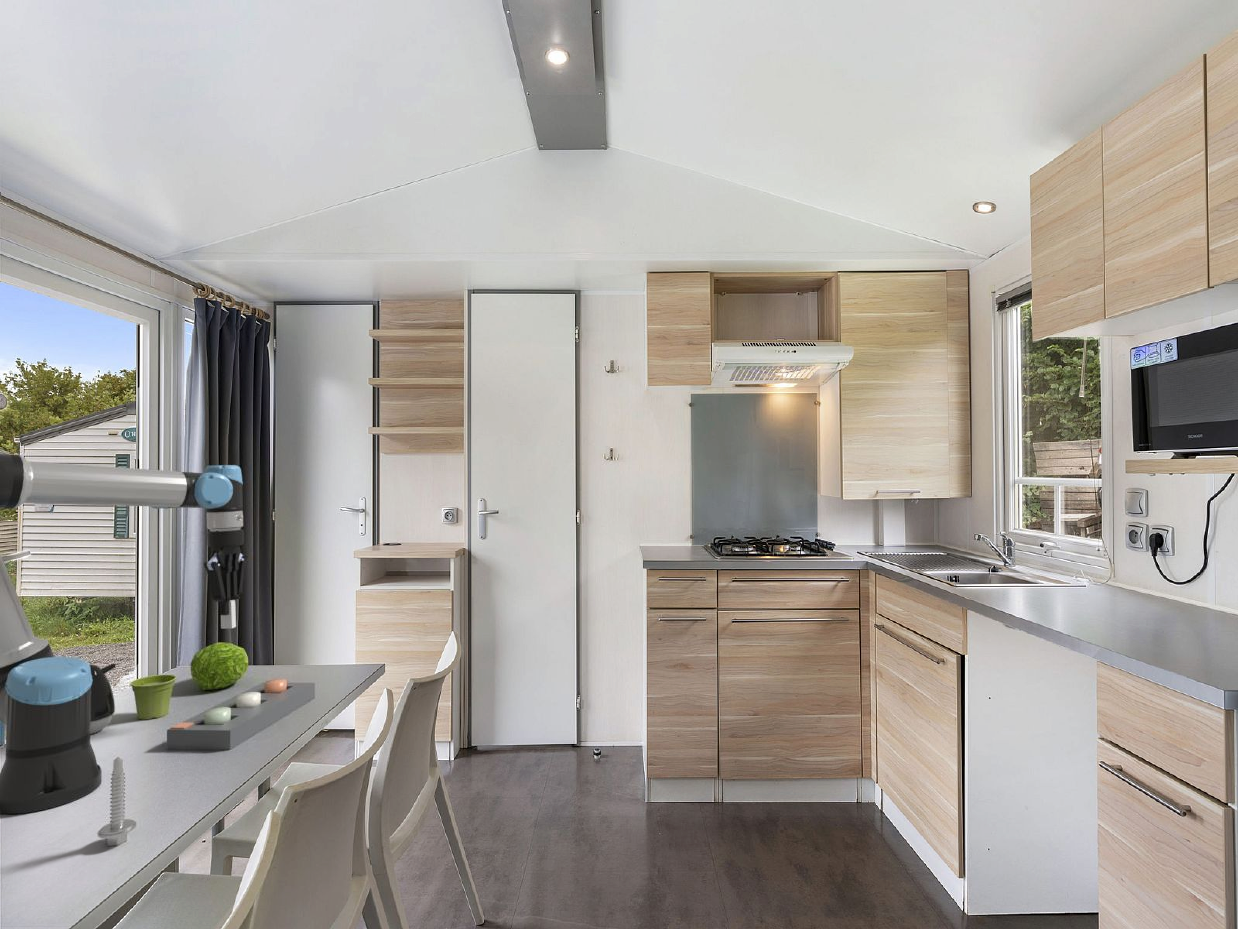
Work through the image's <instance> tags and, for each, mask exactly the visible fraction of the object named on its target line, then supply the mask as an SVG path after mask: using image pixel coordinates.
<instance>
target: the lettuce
mask: <svg viewBox="0 0 1238 929" xmlns="http://www.w3.org/2000/svg"><path fill="white" fill-rule="evenodd" d="M248 669H249V658H248V655H247V652H246V650H245V648H243V647H241V646H239V645H238V646H237V645H235V644H233V643H230V642H216V643H213V644H210V645H208V646H206V647H204V648H202V649H201V650H198V651H197V652H195V654H194V655H193V657H192V659H191V662H190V676H191V677H192V679H193V681H194V683H195V685H197V686H198V687H199V688H200V689H201V690H202V691H209V690H211V691H212V690H218V689H223V688H226V687H228V686H231V685H233V684H234V683H236V682H238V680H240V679H242V678H243V676H244V675H245V673H246V672H247V670H248Z"/></svg>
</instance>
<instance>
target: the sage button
mask: <svg viewBox="0 0 1238 929" xmlns="http://www.w3.org/2000/svg"><path fill="white" fill-rule="evenodd" d="M209 709H210V708H209ZM207 710H208V709H207ZM205 711H206V710H205ZM230 720H231V708H229V707H220V708H214V709H210V710H208V711H206V712H205V713H204V725H223V724H225V723H227V722H228V721H230Z"/></svg>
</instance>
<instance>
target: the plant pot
mask: <svg viewBox="0 0 1238 929" xmlns="http://www.w3.org/2000/svg"><path fill="white" fill-rule="evenodd" d="M177 678H178V676H177V675H175V674H166V673H165V674H156V675H148V676H144V677H143V676H142V677H140V678H137V679H134V680H132V681H131V682H130V683H129V685H130V687H131V689H132V692H133V695H134V700H135V708H136V714H137V718H138V719H139V720H145V719H148V720H151V719H153V718H155V719H156V718H157V719H158V718H159V719H160V718H162V717H165V716H166V715H168V714H169V709H170V703H171V699H172V698H171V697H172V692H173V688H174V685H175V682H176V680H177Z"/></svg>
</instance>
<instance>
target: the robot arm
mask: <svg viewBox="0 0 1238 929" xmlns="http://www.w3.org/2000/svg"><path fill="white" fill-rule="evenodd" d="M243 484H244V482H243V475H242V469H241V467H240V466H238V465H236V464H232V465H231V464H223V465H222V464H221V465H219V464H218V465H207V466H206V467H205V470H204V472H190V471H189V472H188V471H176V470H163V469H161V470H160V469H146V468H133V467H132V468H130V467H118V466H117V467H116V466H115V467H114V466H105V465H104V466H102V465H101V466H99V465H89V464H88V465H87V464H85V465H84V464H75V463H74V464H73V463H72V464H70V463H57V462H44V461H43V462H41V461H29V460H27V459H26V458H25V457H24V456H22V455H19V454H8V453H0V509H2V510H4V509H5V510H7V509H8V510H9V509H10V510H11V509H12V510H14V509H17V508H19V507H20V506H21V505H23V504H28V505H29V504H30V505H31V504H33V505H34V504H35V505H71V506H72V505H74V506H75V505H76V506H77V505H78V506H115V507H116V506H119V507H121V506H122V507H151V508H153V509H157V510H159V509H161V510H162V509H164V510H168V509H178V508H179V509H183V508H187V509H195V508H196V509H197V508H198V509H205V510H206V529H208V530H209V531H208V532H207V533H206V534H207V535H206V536H207V538H206V540H207V546H208V547H210V548H211V549H212V551H211V554H210V557H211V558H210V560H209V561H204V562H203V566H204V567H203V568H204V569H205V571H206V573H207V577H208V578H207V579H208V582H209V588H210V593H211V594H210V595H211V598H212V601H214V602H217V603H219V613H220V629H234V628H236V627H237V618H236V616H237V615H236V612H237V606H236V604H237V603H236V602H237V601H236V600H240V599H241V595H242V594H243V589H244V588H243V587H244V579H245V571H246V570H245V569H246V568H245V567H246V563H247V561H248V558H249V557H248V555H247V554H242V553H241V552H242V550H241V548H240V546H242V545H244V543H245V534H244V533H245V532H244V529H242V527H244V513H243V510H244V508H243V507H244V506H243V505H244V504H243ZM89 664H90V663H88V661H86V660H85V659H82V658H79V657H75V656H73V657H72V656H71V657H69V656H68V657H66V656H55V654H54V652H53V649H52V647H51V645H50V642H49V640H48V639H44V638H41V637H37V636H35V634H34V631H33V629H32V626H31V624H30V622H29V620H28V617H27V615H26V612H25V609H24V607H23V604H22V603H21V601H20V598H19V595H18V593H17V591H16V588H15V586H14V584H13V581H12V579H11V577H10V573H9V570H8V569H7V566H6V564H5V562H4V559H3V557H2V554H1V553H0V723H3V724H5V759H4V762H3V765H2V768H1V771H0V814H3V815H14V814H27V813H32V812H38V811H41V810H42V811H43V810H47V809H52V808H55V807H59V806H61V805H62V806H63V805H65V804H67V803H71V802H73V801H76V800H78V799H81V798H83V797H85V796H88V794H91V793H93V791H95V790H97V789H98V788H99V787H100V785H101V784H102V781H103V780H102V777H103V776H102V773H103V772H102V768H101V766H100V765H99V764H98V763H97V759H96V758H97V757H96V754H95V751H94V749H93V747H92V744H91V734H90V720H91V685H92V675H91V668H90V665H89Z"/></svg>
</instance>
